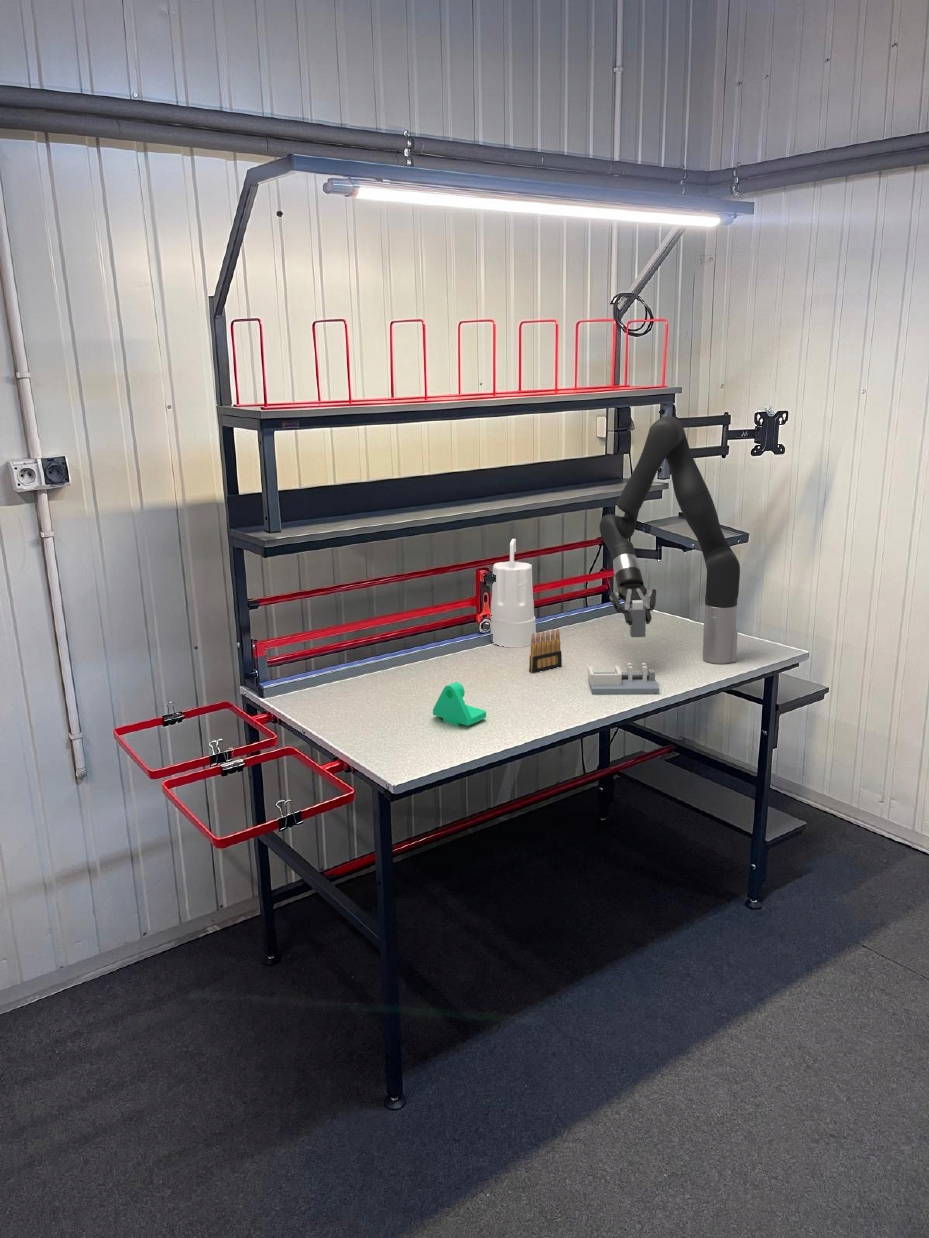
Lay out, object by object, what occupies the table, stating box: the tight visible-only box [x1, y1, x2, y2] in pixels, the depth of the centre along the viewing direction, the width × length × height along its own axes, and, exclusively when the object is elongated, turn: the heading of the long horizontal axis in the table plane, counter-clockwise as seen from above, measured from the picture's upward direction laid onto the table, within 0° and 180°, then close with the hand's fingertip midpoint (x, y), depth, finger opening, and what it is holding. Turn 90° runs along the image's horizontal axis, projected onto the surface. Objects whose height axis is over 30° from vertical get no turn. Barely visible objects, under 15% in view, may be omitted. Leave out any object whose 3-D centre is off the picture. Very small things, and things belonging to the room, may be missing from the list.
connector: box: [629, 600, 647, 638], centre depth 257 cm, size 4×4×10 cm
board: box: [587, 662, 660, 695], centre depth 251 cm, size 18×14×6 cm
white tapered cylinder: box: [490, 538, 537, 648], centre depth 293 cm, size 15×15×33 cm
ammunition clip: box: [528, 627, 563, 674], centre depth 266 cm, size 11×2×12 cm, turn 121°
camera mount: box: [432, 681, 487, 727], centre depth 229 cm, size 12×8×10 cm, turn 48°
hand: (639, 622), depth 256 cm, fingers closed on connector, 4 cm apart
